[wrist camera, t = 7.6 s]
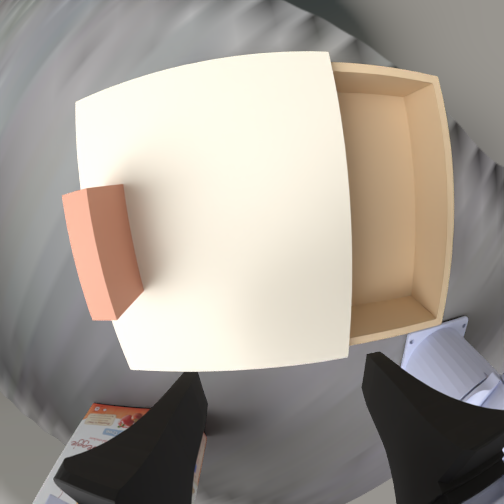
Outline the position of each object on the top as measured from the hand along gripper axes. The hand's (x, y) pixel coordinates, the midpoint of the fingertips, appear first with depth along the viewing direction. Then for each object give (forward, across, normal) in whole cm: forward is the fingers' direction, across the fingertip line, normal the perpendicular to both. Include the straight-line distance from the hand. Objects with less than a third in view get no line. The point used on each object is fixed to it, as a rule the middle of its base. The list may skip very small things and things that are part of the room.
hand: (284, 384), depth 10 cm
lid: (+5, +3, -6) cm, 8 cm away
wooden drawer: (+10, -5, -6) cm, 13 cm away
